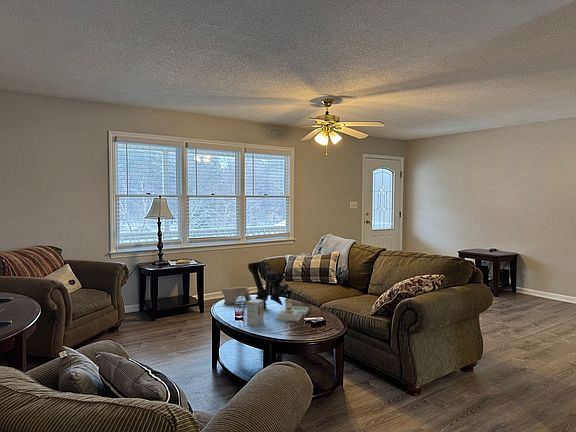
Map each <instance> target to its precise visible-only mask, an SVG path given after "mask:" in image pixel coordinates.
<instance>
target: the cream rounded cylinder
mask: <svg viewBox="0 0 576 432" xmlns="http://www.w3.org/2000/svg"><path fill="white" fill-rule="evenodd" d="M284 302H285V309H286V313H292V308H293V306H292V305H293V304H292V302H293V300H292V298H291V299H287V298H285V301H284Z"/></svg>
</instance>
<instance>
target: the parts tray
mask: <svg viewBox="0 0 576 432" xmlns="http://www.w3.org/2000/svg"><path fill="white" fill-rule="evenodd" d="M292 310H299V314H300V315H302V316H307V314H308V313H309V306H297V305H296V306H295V305H294V306H292Z"/></svg>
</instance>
